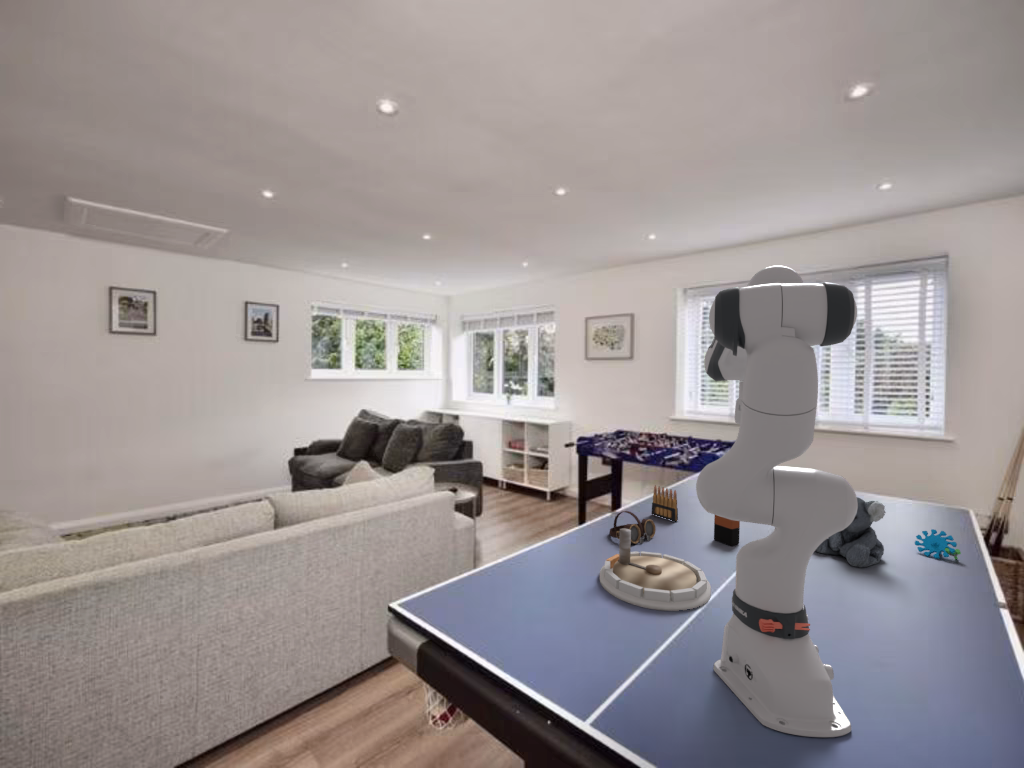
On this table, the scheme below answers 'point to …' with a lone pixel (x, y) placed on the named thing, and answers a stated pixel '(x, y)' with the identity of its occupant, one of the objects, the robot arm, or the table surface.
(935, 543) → the blue virus model
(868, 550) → the koala plush
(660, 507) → the ammunition clip
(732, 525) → the battery
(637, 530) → the goggles
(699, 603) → the dial base
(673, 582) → the dial
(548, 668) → the table surface
